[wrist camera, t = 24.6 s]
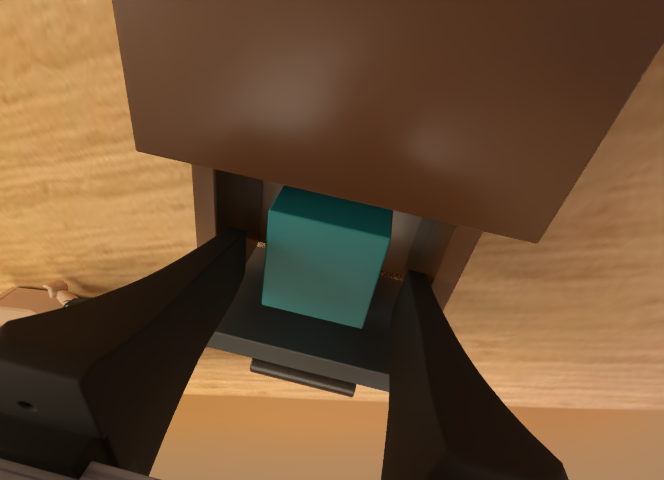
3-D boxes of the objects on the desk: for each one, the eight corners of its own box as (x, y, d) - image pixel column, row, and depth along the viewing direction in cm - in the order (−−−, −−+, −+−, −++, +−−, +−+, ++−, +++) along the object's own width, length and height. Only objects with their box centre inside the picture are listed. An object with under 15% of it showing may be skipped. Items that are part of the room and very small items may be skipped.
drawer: (388, 356, 24) (383, 453, 19) (239, 319, 24) (197, 405, 20) (509, 67, 14) (566, 118, 9) (246, 11, 14) (159, 30, 9)
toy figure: (63, 338, 31) (220, 353, 28) (-13, 400, 26) (169, 429, 22) (21, 266, 28) (193, 271, 24) (-76, 320, 23) (125, 337, 19)
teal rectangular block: (372, 251, 18) (362, 330, 14) (293, 233, 18) (261, 305, 14) (396, 171, 16) (391, 239, 12) (303, 150, 16) (268, 209, 12)
